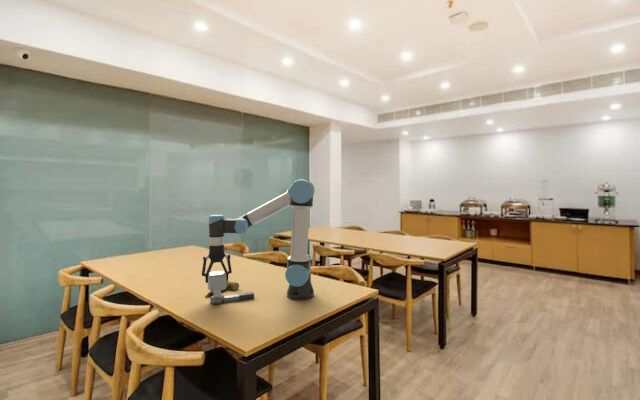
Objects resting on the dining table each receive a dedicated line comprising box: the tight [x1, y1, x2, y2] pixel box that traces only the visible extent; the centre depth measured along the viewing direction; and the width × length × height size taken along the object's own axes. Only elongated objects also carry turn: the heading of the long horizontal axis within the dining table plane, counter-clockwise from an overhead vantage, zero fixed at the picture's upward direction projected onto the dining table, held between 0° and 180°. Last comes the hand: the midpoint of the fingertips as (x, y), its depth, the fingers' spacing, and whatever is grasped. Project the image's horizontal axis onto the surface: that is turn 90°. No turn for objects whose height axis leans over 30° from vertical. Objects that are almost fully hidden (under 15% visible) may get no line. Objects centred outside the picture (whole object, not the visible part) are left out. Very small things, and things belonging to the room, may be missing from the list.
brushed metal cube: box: [208, 270, 226, 292], centre depth 168 cm, size 8×8×8 cm
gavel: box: [204, 280, 240, 298], centre depth 185 cm, size 21×5×10 cm
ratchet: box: [209, 290, 255, 306], centre depth 172 cm, size 22×7×8 cm, turn 114°
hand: (217, 287), depth 169 cm, fingers closed on brushed metal cube, 7 cm apart
